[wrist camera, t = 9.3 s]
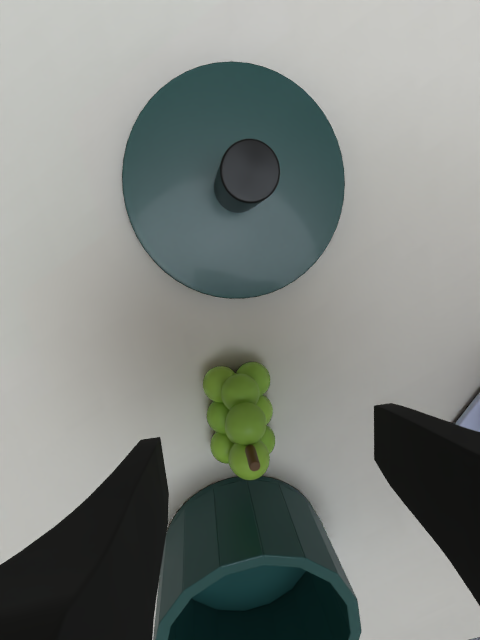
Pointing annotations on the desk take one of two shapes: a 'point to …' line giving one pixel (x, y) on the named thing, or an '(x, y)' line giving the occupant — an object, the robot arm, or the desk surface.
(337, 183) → the pot lid
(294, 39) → the desk surface
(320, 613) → the pot
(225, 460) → the grapes
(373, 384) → the desk surface
